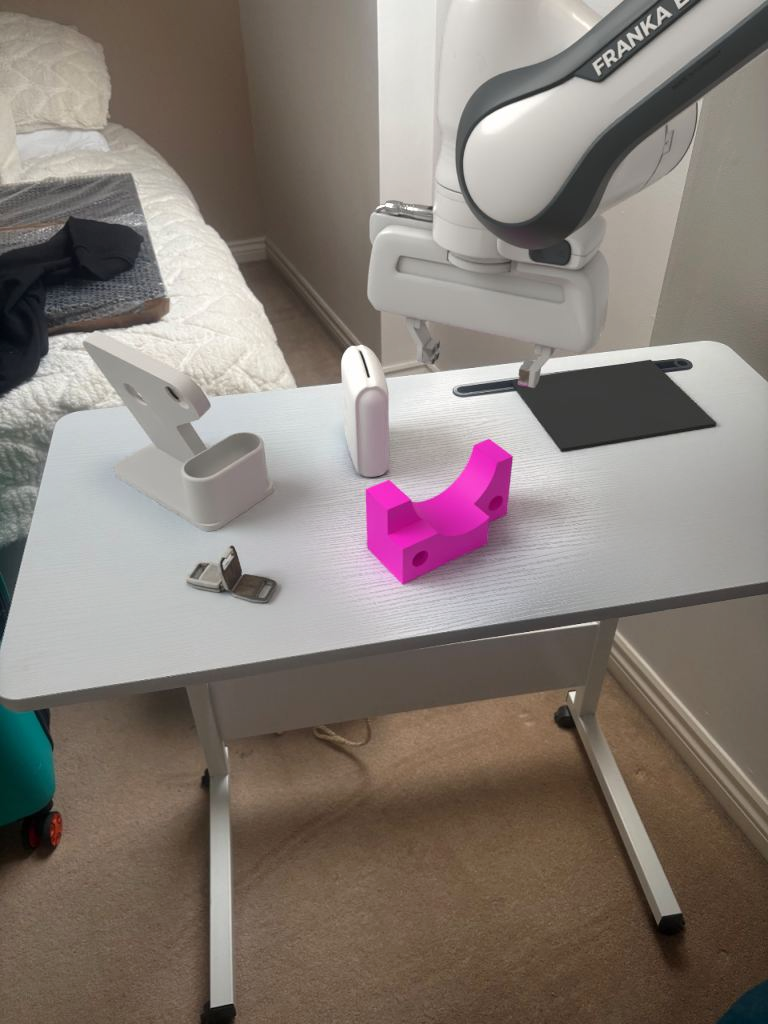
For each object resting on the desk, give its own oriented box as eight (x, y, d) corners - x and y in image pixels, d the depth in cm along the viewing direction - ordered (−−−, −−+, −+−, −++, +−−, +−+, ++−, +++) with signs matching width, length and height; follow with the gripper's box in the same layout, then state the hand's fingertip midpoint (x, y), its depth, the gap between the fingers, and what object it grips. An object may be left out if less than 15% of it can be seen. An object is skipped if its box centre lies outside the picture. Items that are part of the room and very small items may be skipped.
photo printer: (341, 430, 100) (336, 337, 92) (376, 426, 100) (374, 333, 92) (355, 481, 92) (351, 384, 84) (393, 476, 92) (392, 379, 85)
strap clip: (184, 586, 79) (176, 553, 77) (199, 565, 82) (192, 533, 79) (266, 606, 77) (261, 573, 74) (279, 584, 79) (274, 551, 77)
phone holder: (281, 489, 91) (264, 341, 79) (211, 537, 85) (182, 384, 73) (178, 433, 99) (149, 292, 88) (107, 473, 93) (67, 327, 82)
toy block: (402, 584, 79) (402, 524, 74) (367, 548, 83) (365, 489, 79) (522, 527, 86) (529, 468, 81) (484, 496, 90) (489, 438, 85)
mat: (650, 362, 112) (650, 359, 111) (715, 426, 100) (716, 422, 99) (510, 383, 108) (510, 379, 107) (561, 452, 96) (562, 448, 95)
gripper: (352, 209, 66) (356, 362, 75) (607, 252, 59) (579, 416, 68) (386, 184, 70) (386, 333, 79) (627, 222, 63) (598, 380, 72)
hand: (477, 371), depth 73 cm, fingers open, 8 cm apart
